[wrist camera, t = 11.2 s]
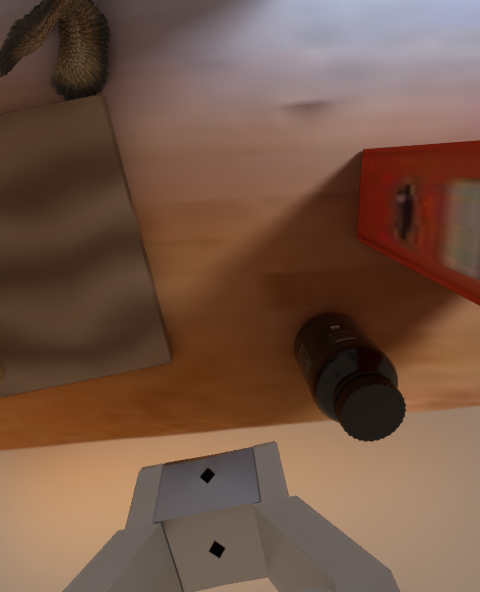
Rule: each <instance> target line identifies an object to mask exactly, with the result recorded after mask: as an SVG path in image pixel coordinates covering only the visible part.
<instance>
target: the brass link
mask: <svg viewBox="0 0 480 592" xmlns="http://www.w3.org/2000/svg"><path fill="white" fill-rule="evenodd" d="M4 378H5V376H4V373H3V371H2V368H1V366H0V382H1V381H2V380H3V379H4Z"/></svg>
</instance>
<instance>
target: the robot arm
mask: <svg viewBox="0 0 480 592" xmlns="http://www.w3.org/2000/svg"><path fill="white" fill-rule="evenodd" d="M267 577H269V579H270V581H271V582H272V583H273V585H274V586H275V587H276V589H277V590H278V591H279V592H400V590H399V588H398V586H397V584H396V581H395V579H394V577H393V575H392V572H391V570H390V569H389V568H387V567H386V566H385V565H383V564H382V563H381V562H380V561H379V560H377V559H376V558H375V557H373V556H372V555H371V554H370V553H368V552H367V551H366V550H364V549H363V548H362V547H361V546H359V545H358V544H357V543H356V542H354V541H353V540H352V539H351V538H349V537H348V536H347V535H345V534H344V533H343V532H342V531H340V530H339V529H338V528H337V527H335V526H334V525H333V524H332V523H330V522H329V521H328V520H326V519H325V518H324V517H323V516H321V515H320V514H319V513H317V512H316V511H315V510H314V509H313V508H311V507H310V506H309V505H308V504H306V503H305V502H304V501H302V500H301V499H300V498H299V497H297V496H291V497H289V494H288V490H287V486H286V481H285V477H284V473H283V468H282V464H281V460H280V455H279V451H278V447H277V443H276V442H275V441H273V442H268V443H264V444H260V445H255V446H253V447H250V448H244V449H240V450H234V451H230V452H225V453H220V454H215V455H210V456H209V455H208V456H203V457H197V458H192V459H185V460H180V461H174V462H169V463H165V464H158V465H153V466H147V467H143V468H142V469H141V470H140V471H139V474H138V478H137V482H136V486H135V490H134V494H133V498H132V503H131V507H130V511H129V515H128V519H127V523H126V527H125V529H124V530H119V531H117V532H116V533H115V534H114V536H113V537H112V538H111V539H110V540H109V541H108V542H107V543H106V544H105V545H104V547H103V548H102V549H101V550H100V551H99V552H98V553H97V554H96V555H95V556H94V558H93V559H92V560H91V561H90V562H89V563H88V564H87V565H86V566H85V567H84V569H83V570H82V571H81V572H80V573H79V574H78V575H77V576H76V577H75V578H74V580H73V581H72V582H71V583H70V584H69V585H68V586H67V587H66V588H65V589H64V591H63V592H195V591H200V590H204V589H209V588H213V587H217V586H222V585H225V584H232V583H238V582H244V581H249V580H256V579H261V578H267Z"/></svg>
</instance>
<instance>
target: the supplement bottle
mask: <svg viewBox="0 0 480 592" xmlns="http://www.w3.org/2000/svg"><path fill="white" fill-rule="evenodd" d="M294 352H295V356H296V360H297V362H298V364H299V367H300V369H301V371H302V374H303V376H304V378H305V380H306V383H307V385H308V387H309V389H310V391H311V394H312V396H313V398H314V400H315V402H316V404H317V406H318V408H319V409H320V410H321V412H322V413H323V414H324V415H326V416H327V417H328V418H330V419H332V420H333V421H336V422H338V423H340V424H341V426H342V427H343V429H344V431H345V432H347V433H348V435H349V436H352V437H353V438H354V439H358V440H363V441H365V442H366V441H371V442H372V441H374V440H380V439H383V438H385V437H386V436H389V435H390V434H391V433H392V432H394V431H395V430H396V429H397V428H398V427H399V426H400V423H402V422H403V418H404V417H405V411H406V409H405V406H406V404H405V402H404V398H403V396H402V394H401V392H400V391H399V390H398V376H397V372H396V369H395V367H394V365H393V363H392V362H391V361H390V359H389V358H388V357H387V356H386V355H385V353H384V352H383V351H382V350H381V349H380V348H379V347H378V346H377V345H376V344H375V343H374V342H373V341H372V339H371V338H370V337H369V336H368V335H367V334H366V333H365V332H364V331H363V330H362V329H361V328H360V327H359V326H358V325H357V324H356V323H355V322H354V321H353V320H352V319H350V318H349V317H347V316H345V315H342V314H338V313H325V314H321V315H318V316H315V317H313V318H312V319H310V320H309V321H307V322H306V323H305V324H304V325H303V326H302V327H301V329H300V330H299V332H298V334H297V336H296V339H295V344H294Z"/></svg>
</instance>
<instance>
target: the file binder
mask: <svg viewBox="0 0 480 592" xmlns="http://www.w3.org/2000/svg"><path fill="white" fill-rule="evenodd" d="M357 238H358V241H360V242H362V243H364V244H366V245H368V246H369V247H371V248H373V249H375V250H377V251H379V252H381V253H382V254H384V255H386V256H388V257H390V258H392V259H394V260H395V261H397V262H399V263H401V264H403V265H405V266H407V267H409V268H410V269H412V270H414V271H416V272H418V273H420V274H422V275H423V276H425V277H427V278H429V279H431V280H433V281H435V282H437V283H438V284H440V285H442V286H444V287H446V288H448V289H450V290H451V291H453V292H455V293H457V294H459V295H461V296H463V297H464V298H466V299H468V300H470V301H472V302H474V303H476V304H478V305H479V306H480V140H479V141H466V142H453V143H440V144H427V145H413V146H400V147H387V148H374V149H363V155H362V163H361V179H360V194H359V210H358V226H357Z"/></svg>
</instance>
